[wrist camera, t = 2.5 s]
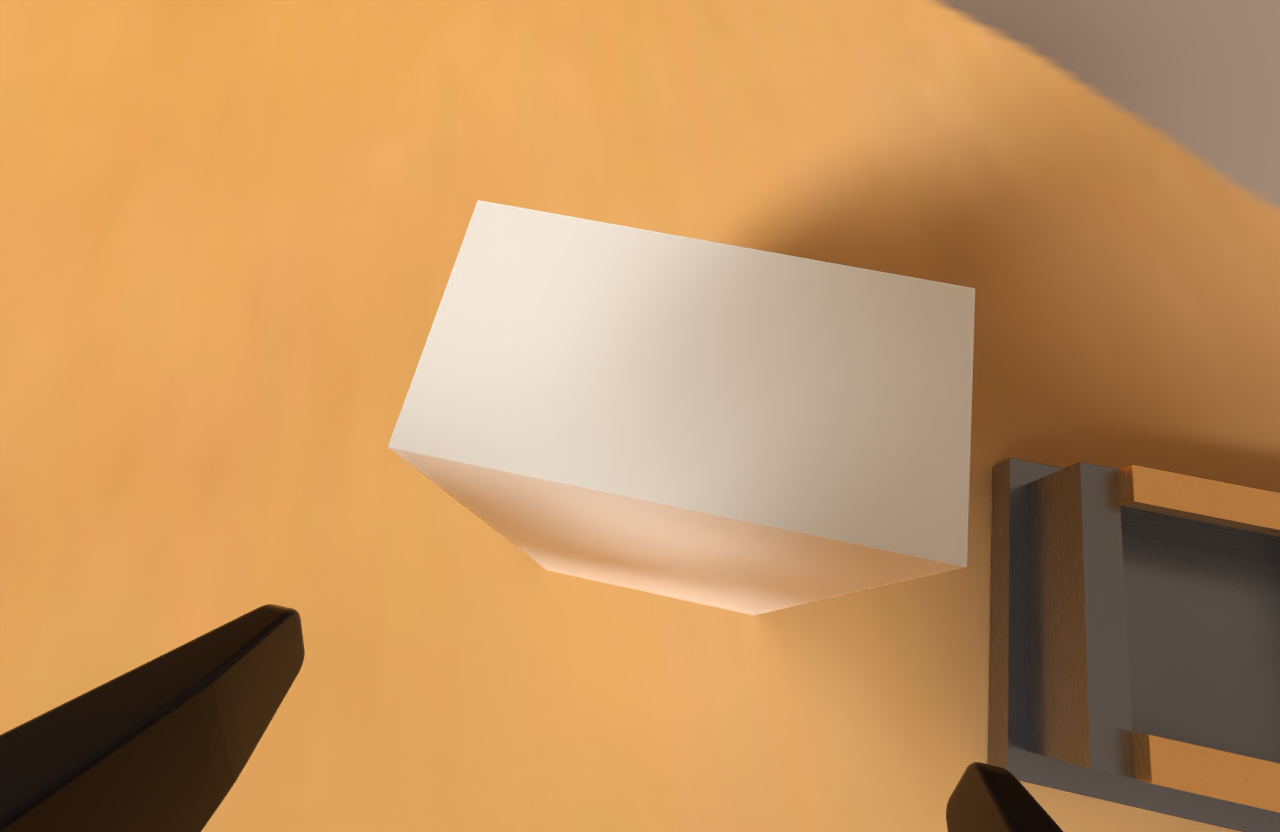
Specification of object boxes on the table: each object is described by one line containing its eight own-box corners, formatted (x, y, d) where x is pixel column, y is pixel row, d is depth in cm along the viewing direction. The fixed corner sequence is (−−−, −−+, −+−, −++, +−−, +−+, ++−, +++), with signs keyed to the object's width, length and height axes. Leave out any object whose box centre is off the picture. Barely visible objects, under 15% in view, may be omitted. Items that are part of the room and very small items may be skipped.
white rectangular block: (754, 615, 19) (966, 567, 7) (546, 570, 19) (388, 446, 7) (769, 503, 20) (974, 288, 8) (574, 463, 20) (478, 199, 8)
